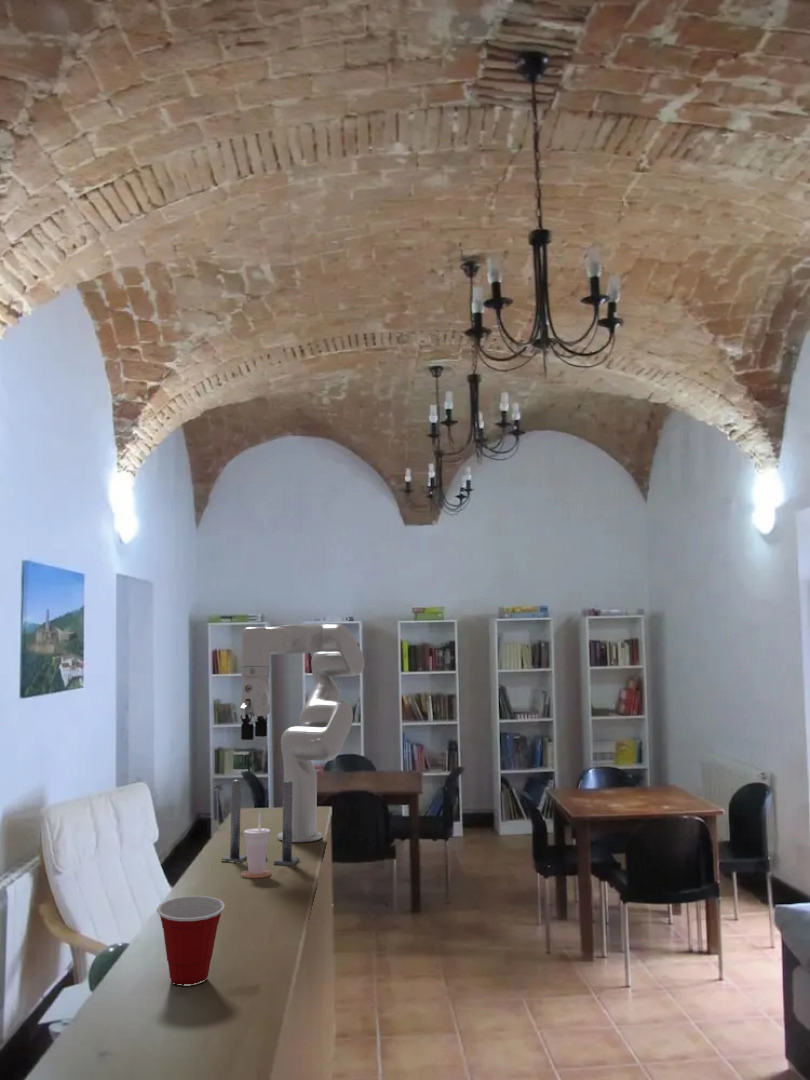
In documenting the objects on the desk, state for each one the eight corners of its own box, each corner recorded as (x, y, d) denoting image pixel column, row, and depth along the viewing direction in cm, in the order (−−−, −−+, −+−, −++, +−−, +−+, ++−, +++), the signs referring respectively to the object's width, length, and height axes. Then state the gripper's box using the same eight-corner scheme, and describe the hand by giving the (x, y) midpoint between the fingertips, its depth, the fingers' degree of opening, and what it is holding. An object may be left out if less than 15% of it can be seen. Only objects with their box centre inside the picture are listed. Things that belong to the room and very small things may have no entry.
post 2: (280, 860, 237) (282, 780, 239) (299, 861, 236) (300, 780, 238) (274, 864, 232) (275, 783, 235) (292, 865, 231) (294, 783, 234)
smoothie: (266, 875, 218) (267, 814, 220) (239, 875, 219) (240, 814, 220) (272, 869, 224) (273, 810, 226) (246, 868, 225) (247, 809, 227)
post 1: (229, 857, 240) (231, 778, 242) (247, 858, 239) (249, 779, 241) (221, 861, 235) (223, 781, 238) (240, 862, 234) (241, 781, 237)
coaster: (247, 871, 225) (247, 868, 225) (274, 872, 224) (274, 869, 224) (236, 877, 218) (236, 875, 218) (264, 879, 217) (264, 876, 217)
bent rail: (263, 858, 239) (263, 852, 239) (275, 859, 238) (275, 853, 238) (242, 871, 225) (242, 864, 225) (255, 871, 224) (255, 865, 225)
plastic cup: (155, 996, 143) (157, 915, 145) (153, 973, 153) (156, 898, 155) (226, 989, 146) (228, 910, 148) (220, 967, 156) (221, 893, 158)
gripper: (256, 674, 239) (255, 741, 237) (279, 672, 256) (278, 735, 254) (229, 673, 241) (228, 740, 238) (254, 672, 257) (253, 734, 255)
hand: (254, 738), depth 246 cm, fingers open, 9 cm apart
